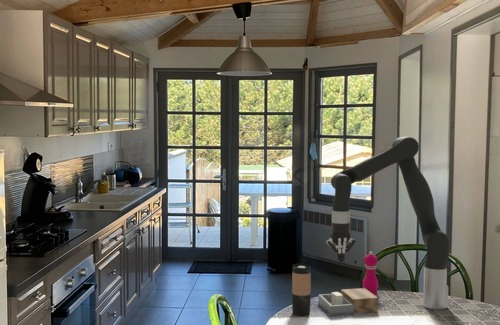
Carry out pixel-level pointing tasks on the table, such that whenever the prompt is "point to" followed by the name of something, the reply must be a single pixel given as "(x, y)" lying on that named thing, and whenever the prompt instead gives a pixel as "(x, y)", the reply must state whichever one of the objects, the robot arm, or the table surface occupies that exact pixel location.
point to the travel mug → (301, 289)
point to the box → (333, 310)
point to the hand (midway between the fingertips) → (340, 261)
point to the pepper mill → (370, 273)
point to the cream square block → (337, 298)
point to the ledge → (361, 300)
